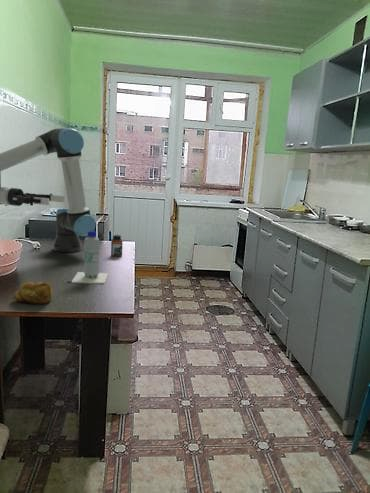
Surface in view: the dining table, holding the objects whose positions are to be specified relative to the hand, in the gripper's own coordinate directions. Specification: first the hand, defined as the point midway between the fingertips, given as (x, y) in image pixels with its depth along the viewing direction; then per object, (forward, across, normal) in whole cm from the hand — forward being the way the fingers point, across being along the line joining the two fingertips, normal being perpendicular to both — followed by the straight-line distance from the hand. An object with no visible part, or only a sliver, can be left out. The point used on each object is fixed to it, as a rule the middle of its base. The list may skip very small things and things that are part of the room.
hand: (57, 200), depth 166 cm
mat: (+16, +3, -32) cm, 36 cm away
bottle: (+17, +2, -32) cm, 36 cm away
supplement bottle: (+13, -40, -32) cm, 53 cm away
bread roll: (+10, +35, -32) cm, 48 cm away
